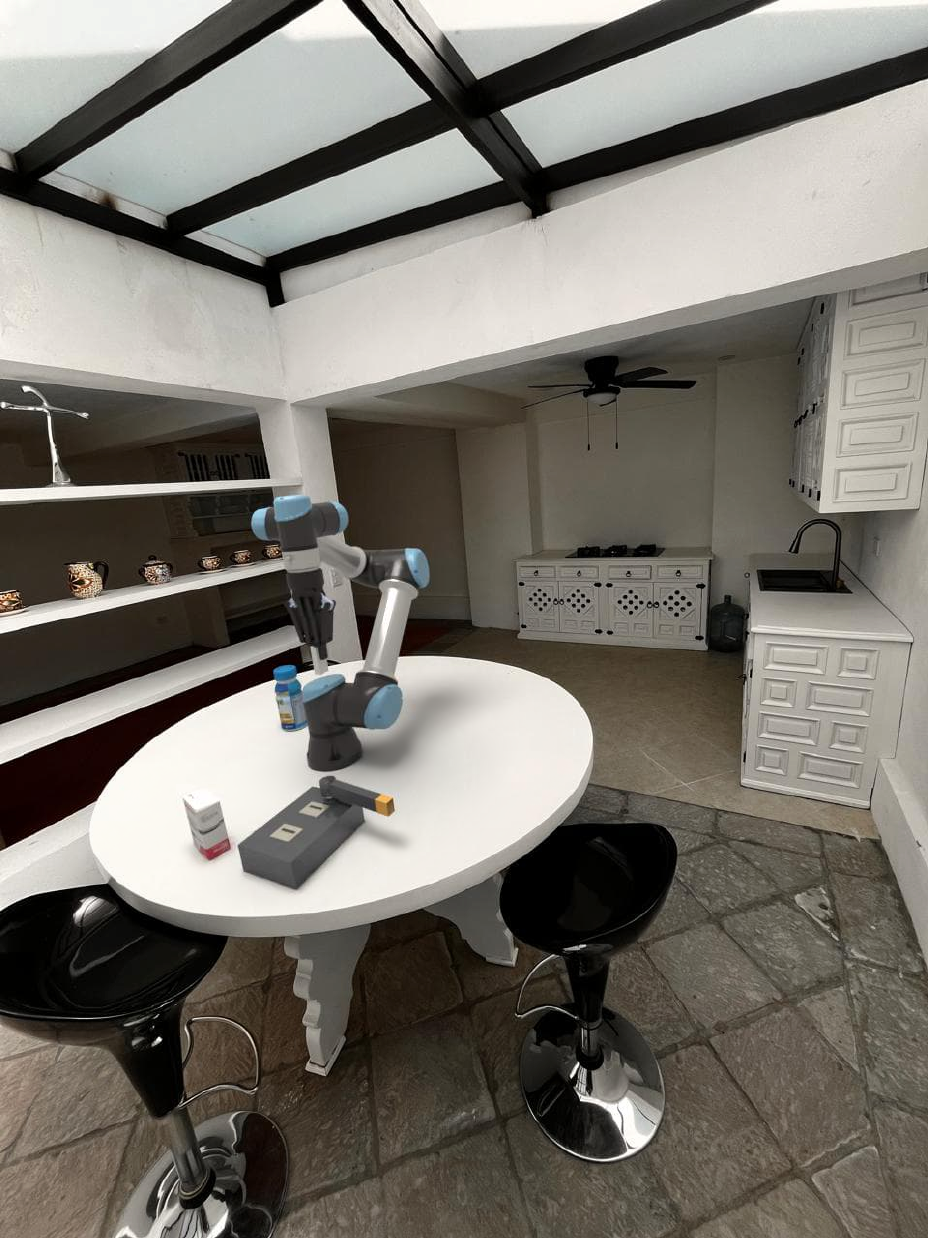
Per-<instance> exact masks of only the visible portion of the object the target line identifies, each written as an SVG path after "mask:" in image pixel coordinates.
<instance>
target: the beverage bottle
mask: <svg viewBox="0 0 928 1238" xmlns="http://www.w3.org/2000/svg"><path fill="white" fill-rule="evenodd" d="M297 673H298V672H297V668H296V666H295V665H292V664H288V665H281V666H278V667H276V668H275V669H273V677H274V680H275V682H276V683H275V687H274V694H275V695H276V696H275V701H276V705H277V710H278V714H279V718H280V726H281V729H282V730H283V731H285V732H294V731H298V730H301V729H304V728H305V727H306V726H308V724H307V719H306V714H305V709H304V704H303V695H302V690H303V689H302V684H301V682H300V681H299V680H298V678H297V676H298V674H297Z"/></svg>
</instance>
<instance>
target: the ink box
mask: <svg viewBox="0 0 928 1238" xmlns="http://www.w3.org/2000/svg"><path fill="white" fill-rule="evenodd" d="M182 802H183V804H184V808H185V809H184V810H185V812H186V816H187V821H188V825H189V828H190V833H191V837H192V840H193V844H194V846H195V847H196V848H197V849H198V850H199V851H200V852H201V854H202V855H203V856H204V857H205V858H206V859H207V860H208V861H210V860H212V859H214V858H216V857H217V856H220V855H222V854H224V853H225V852H226V851H229V850H230V849H231V848H232V847H231V842H230V838H229V834H228V830H227V826H226V822H225V817H224V815H223V810H222V809H223V808H222V805H221V801H220V799H219V798H218V797H217V796H215V795H214V794H213V793H212V792H211V791H210V790H209V789H207V788H206V787H204V788H202V789H199V790H195V791H193V792H191V793H189V794H186V795H185V796H183V797H182Z"/></svg>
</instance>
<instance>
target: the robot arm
mask: <svg viewBox="0 0 928 1238" xmlns="http://www.w3.org/2000/svg"><path fill="white" fill-rule="evenodd" d="M272 503H273V506H268V507H265V508H260V509H257V510H255V511H254V513H253V515H252V517H251V522H250V524H251V530H252V531H253V533H254V535H255V536H256V537H257V538H258V539H260V540H262V541H279V542H280V548H281V554H282V560H283V565H284V569H285V570H286V571H287V572H286V574H285V576H286V582H287V588H288V589H289V590H290V591H291V598H290V599H289V600H287V601H285V602H284V603H283V604H284V607H285V608H286V610H287V611H288V613H289V615H290V618H291V621H292V623H293V627H294V629H295V632H296V634H297V637H298V639H299V642H300V644H306V646H307V647H308V652H309V656H310V659H311V660H312V663H313V670H314V674H315V675H316V676H321V677H318V678H315V679H313V680H311V681H309V682H307V683H306V684H305V685H304V686H303V688H302V689H301V690H302V695H303V704H304V709H305V714H306V719H307V729H308V733H309V735H308V736H309V739H308V740H309V741H308V745H307V752H306V760H307V765H308V767H309V768H310V769H312V770H314V771H318V772H330V771H335V770H339V769H343V768H346V767H348V766H350V765H352V764H354V763H356V762H357V761H359V760H360V759H361V757H362V756H363V752H364V751H363V745H362V744H363V743H362V742H361V740H360V739H359V737H358V734H357V733H356V731H355V729H356V728H358V729H368V730H372V731H373V730H387V729H388V728H389V729H390V728H391V727H392V726H393V725H394V724H395V723H396V722H397V720H398V719H399V717H400V716H401V715H400V714H401V711H402V709H403V702H404V699H403V696H404V695H403V691H402V689H401V687H400V686H399V681H398V679H397V677H396V676H395V673H396V669H397V665H398V659H399V656H400V651H401V648H402V643H403V639H404V638H403V637H404V634H405V630H406V625H407V621H408V616H409V613H410V608H411V603H412V600H414V599H416V598H417V597H418V595H419V591H420V589H424V588H425V587H427V586H428V585H429V583H430V582H429V581H430V566H429V562H428V559H427V557H426V555H425V553H424V552H423V551H422V550H421V549H419V548H408V547H407V548H399V549H396V548H395V549H375V550H373V549H372V550H371V549H369V550H368V549H367V550H366V549H362V548H361V547H358V546H350V545H349V544H347V543H344V542H343V541H341V540H339V538H336V537H334V536H336V535H337V534H340V533H342V532H344V531H345V530H346V528H347V527H348V525H349V515H348V514H349V513H348V512H347V510H346V508H345V506H344V505H342V504H341V503H339V502H338V501H324V502H323V501H322V502H314V503H312V502H311V498H310V496H309V495H308V494H298V495H296V494H295V495H285V496H277V497H275V498H274V500H273V502H272ZM322 563H323V564H325V565H328V566H329V567H331V568H334V569H336V570H337V571H338V572H339V573H340V575H341V576H342V577H344V578H346V579H348V580H351V581H352V582H355V583H357V584H359V585H362V586H365V587H369V588H373V589H379V590H380V592H381V598H380V601H379V605H378V610H377V613H376V617H375V620H374V625H373V629H372V633H371V637H370V640H369V644H368V648H367V652H366V655H365V659H364V664H363V668H362V669H359V670H358V671H357V672H356V673H355V676H354V679H353V682H346V681H347V679H346V677H345V676H344V675H343V674H341V673H334V674H327V675H324V676H322V675H323V674H325V673H327V672H329V666H328V661H327V659H328V657H329V654H328V649H327V644H328V643H331V642H332V641H333V640H334V639H333V638H334V614H335V613H334V610H335V608H336V605H337V601H336V600H335V599H332V600H330V598H328V597H327V595H326V592H325V591H324V584H325V578H324V573H323V569H322V568H321V566H322ZM354 728H355V729H354Z"/></svg>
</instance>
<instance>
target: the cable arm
mask: <svg viewBox="0 0 928 1238" xmlns="http://www.w3.org/2000/svg"><path fill="white" fill-rule="evenodd" d="M318 785H319V788H320V791H321V795H322V796H323V797H330V796H331V797H334V798H337V799H340V800H343V801H346V802H348V803H351V804H354V805H357V806H360V807H363V809H366V810H369V811H372V812H375V813H377V814H378V815H382V816H385V817H387V818H388V817H390V816H391V815H392V814H394V813H395V812H396V809H395V802H394V797H392V796H389V795H387V794H383V793H379V792H376V791H373V790H370V789H367V788H363V787H360V786H357V785H354V784H351V783H348V782H345V781H343V780H338V779H336V776H335V775H326V776H324V777H321V778H320V779H319V781H318Z"/></svg>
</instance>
